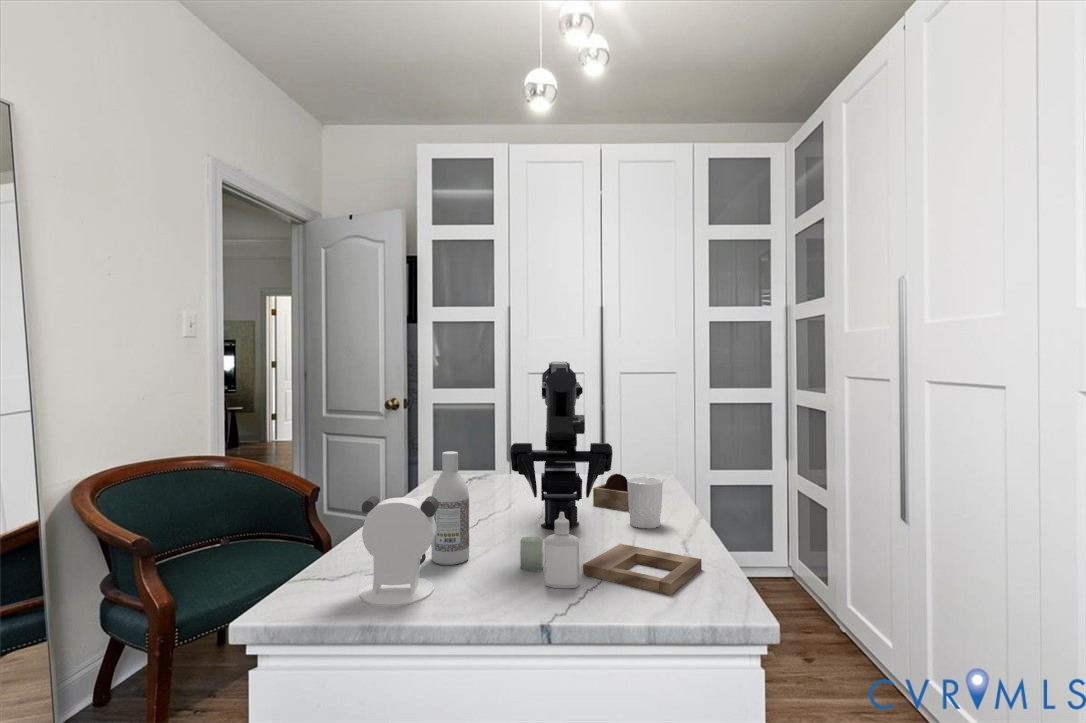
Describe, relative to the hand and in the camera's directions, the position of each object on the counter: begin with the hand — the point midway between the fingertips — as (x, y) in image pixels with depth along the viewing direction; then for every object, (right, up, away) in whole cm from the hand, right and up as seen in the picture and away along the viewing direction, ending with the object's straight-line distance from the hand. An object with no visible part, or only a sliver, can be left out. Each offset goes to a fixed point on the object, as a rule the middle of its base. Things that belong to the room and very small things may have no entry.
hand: (561, 496), depth 105 cm
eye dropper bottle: (0, -13, -7) cm, 15 cm away
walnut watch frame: (+17, -13, +48) cm, 52 cm away
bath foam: (-20, -13, +6) cm, 25 cm away
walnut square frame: (+14, -13, -1) cm, 19 cm away
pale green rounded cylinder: (-5, -13, +1) cm, 14 cm away
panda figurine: (-26, -13, -10) cm, 31 cm away
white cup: (+20, -13, +29) cm, 37 cm away
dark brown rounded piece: (+18, -13, +48) cm, 53 cm away
